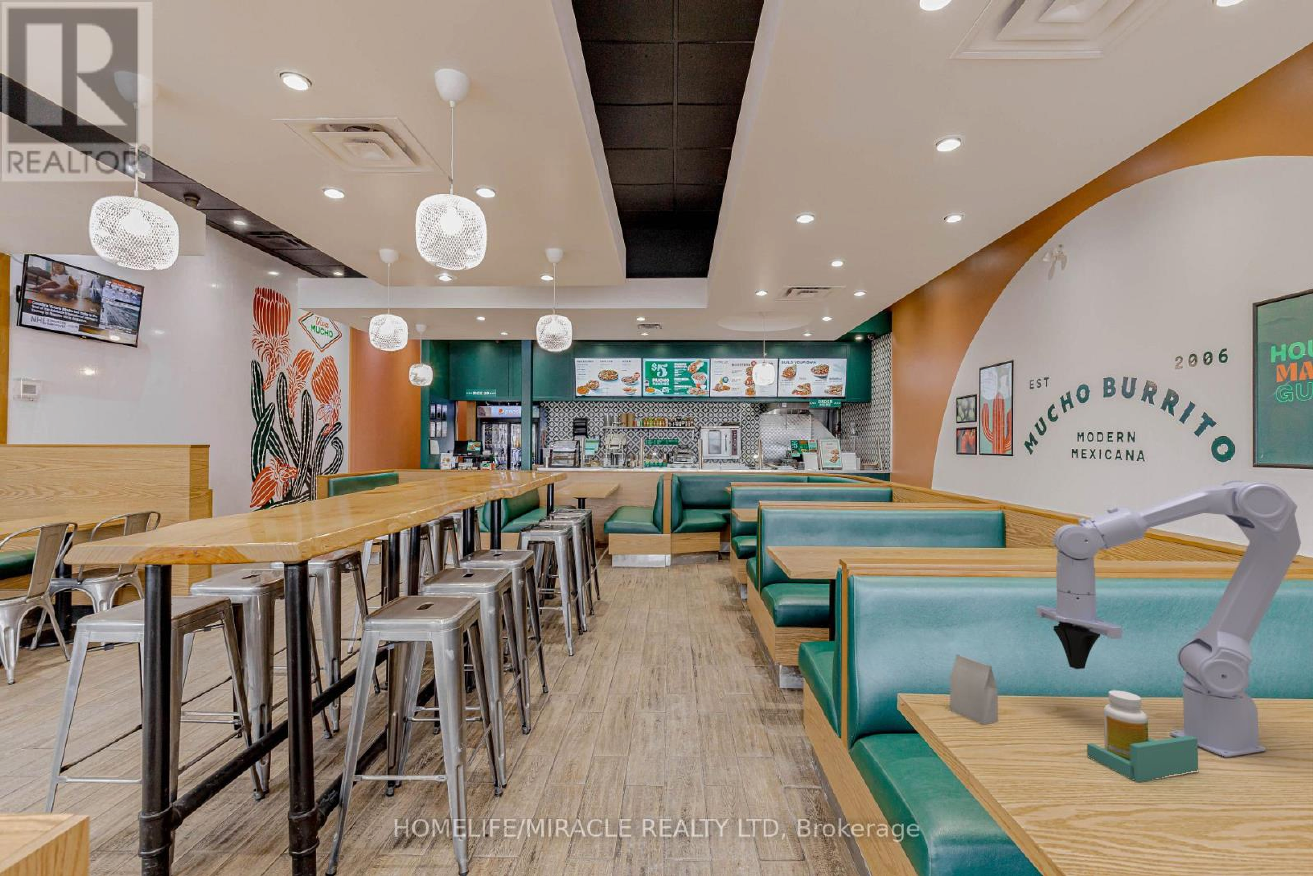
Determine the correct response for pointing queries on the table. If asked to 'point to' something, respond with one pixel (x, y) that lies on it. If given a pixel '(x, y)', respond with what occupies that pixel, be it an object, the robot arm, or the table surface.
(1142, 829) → the table surface
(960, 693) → the tea bag
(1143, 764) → the dock
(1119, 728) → the supplement bottle
